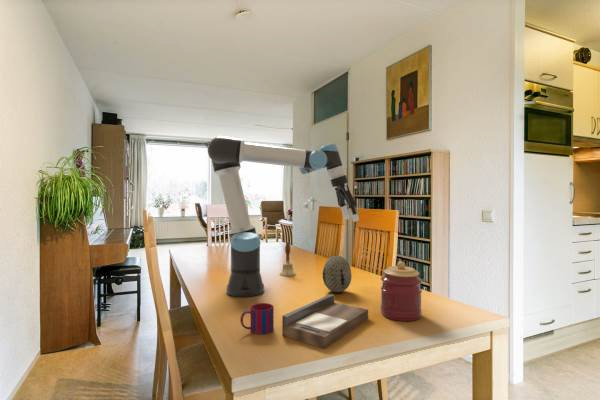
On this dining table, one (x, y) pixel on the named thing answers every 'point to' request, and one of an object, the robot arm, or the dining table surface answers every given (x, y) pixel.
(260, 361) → the dining table surface
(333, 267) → the decorative egg
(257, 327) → the mug
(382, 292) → the canister
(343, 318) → the memo pad holder
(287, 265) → the hand bell
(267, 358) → the dining table surface
